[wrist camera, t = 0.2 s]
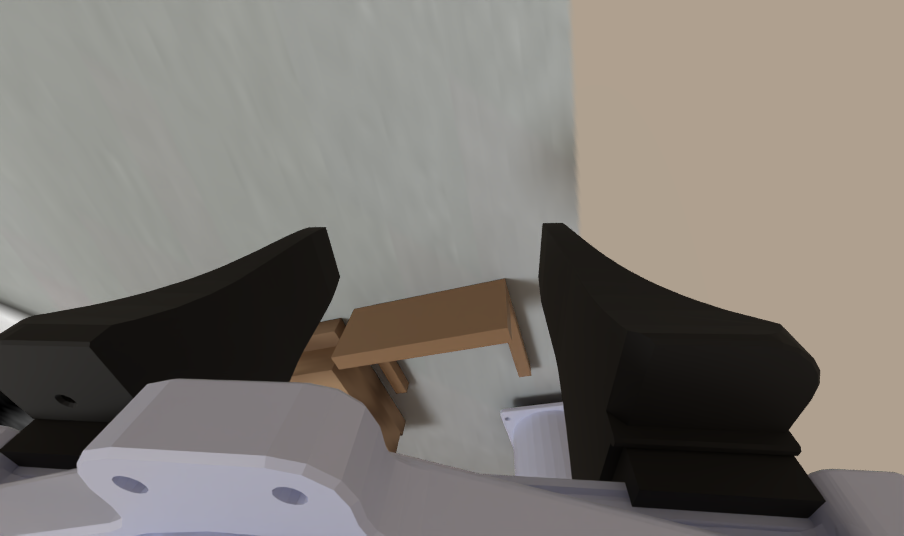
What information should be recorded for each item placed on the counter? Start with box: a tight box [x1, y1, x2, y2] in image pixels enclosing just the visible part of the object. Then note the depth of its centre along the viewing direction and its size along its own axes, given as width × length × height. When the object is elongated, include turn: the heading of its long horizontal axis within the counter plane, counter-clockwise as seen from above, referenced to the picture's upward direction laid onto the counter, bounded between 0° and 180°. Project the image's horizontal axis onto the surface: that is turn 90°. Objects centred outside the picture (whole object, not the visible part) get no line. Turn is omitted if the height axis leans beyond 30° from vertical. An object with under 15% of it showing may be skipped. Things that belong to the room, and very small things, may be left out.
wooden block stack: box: [290, 318, 405, 453], centre depth 32 cm, size 14×18×6 cm
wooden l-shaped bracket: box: [331, 279, 531, 394], centre depth 27 cm, size 9×12×5 cm
